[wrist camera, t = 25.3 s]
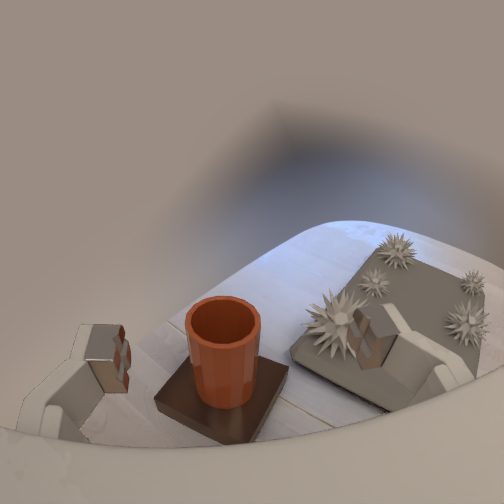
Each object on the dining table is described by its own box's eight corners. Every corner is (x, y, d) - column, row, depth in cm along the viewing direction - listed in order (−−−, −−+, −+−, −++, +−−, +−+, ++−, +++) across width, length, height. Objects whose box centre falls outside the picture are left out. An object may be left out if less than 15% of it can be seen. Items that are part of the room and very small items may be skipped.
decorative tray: (452, 449, 25) (500, 404, 20) (277, 361, 38) (286, 303, 33) (481, 299, 49) (500, 257, 43) (372, 252, 62) (383, 209, 57)
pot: (206, 416, 28) (198, 357, 23) (188, 370, 33) (177, 304, 27) (264, 397, 30) (273, 334, 25) (240, 355, 35) (242, 289, 30)
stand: (158, 410, 31) (153, 397, 29) (207, 349, 39) (205, 334, 38) (246, 454, 27) (247, 444, 25) (286, 380, 36) (289, 366, 34)
